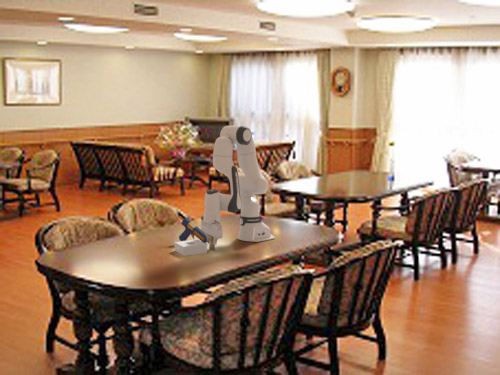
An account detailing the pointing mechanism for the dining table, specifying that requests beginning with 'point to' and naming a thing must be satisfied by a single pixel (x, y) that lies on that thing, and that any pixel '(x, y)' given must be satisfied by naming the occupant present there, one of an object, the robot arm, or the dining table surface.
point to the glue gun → (191, 231)
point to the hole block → (190, 247)
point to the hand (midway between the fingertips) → (211, 243)
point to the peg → (211, 243)
